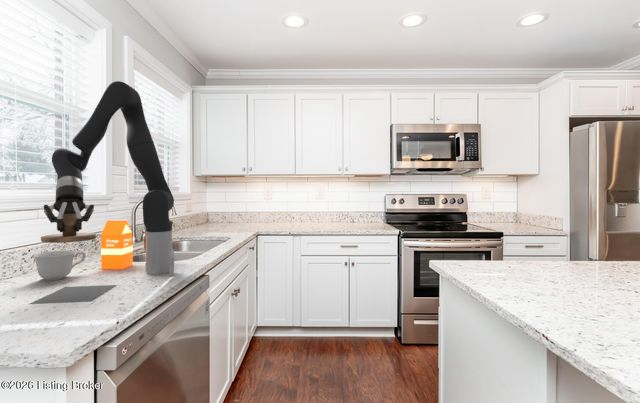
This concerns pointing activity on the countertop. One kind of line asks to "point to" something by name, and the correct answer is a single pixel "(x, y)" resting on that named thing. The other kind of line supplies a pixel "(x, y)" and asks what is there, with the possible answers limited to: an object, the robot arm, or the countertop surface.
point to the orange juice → (116, 245)
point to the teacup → (56, 263)
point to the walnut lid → (68, 232)
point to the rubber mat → (75, 294)
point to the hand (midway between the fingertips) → (69, 230)
